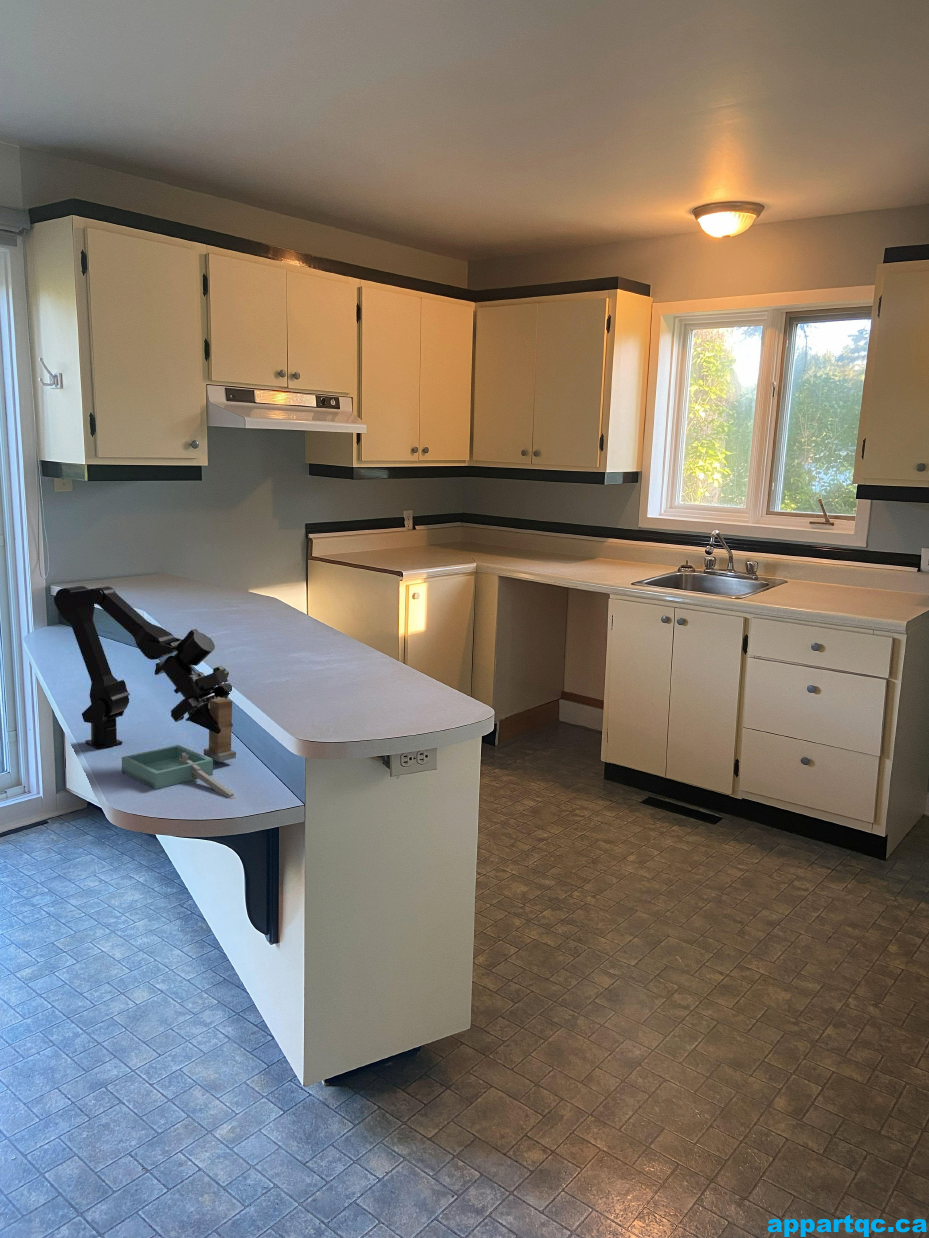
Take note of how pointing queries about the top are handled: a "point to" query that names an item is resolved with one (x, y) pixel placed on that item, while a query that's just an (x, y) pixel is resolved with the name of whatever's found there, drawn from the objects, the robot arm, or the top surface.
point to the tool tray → (164, 766)
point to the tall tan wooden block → (221, 741)
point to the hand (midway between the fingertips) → (225, 729)
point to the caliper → (205, 777)
